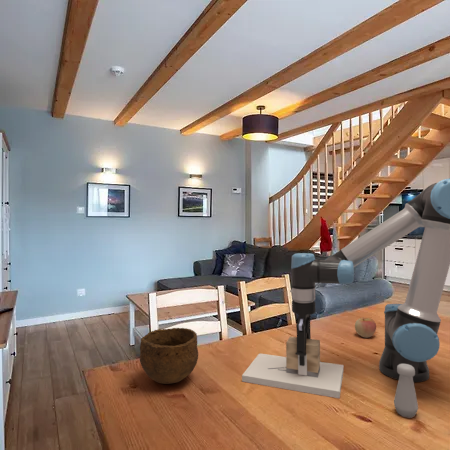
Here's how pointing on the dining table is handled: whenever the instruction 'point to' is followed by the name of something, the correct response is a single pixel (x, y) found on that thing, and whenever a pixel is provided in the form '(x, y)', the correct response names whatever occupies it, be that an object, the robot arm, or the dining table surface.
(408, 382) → the salt shaker
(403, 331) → the robot arm
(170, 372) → the bowl
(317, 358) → the block
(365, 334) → the apple
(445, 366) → the dining table surface
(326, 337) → the dining table surface
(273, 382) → the board
